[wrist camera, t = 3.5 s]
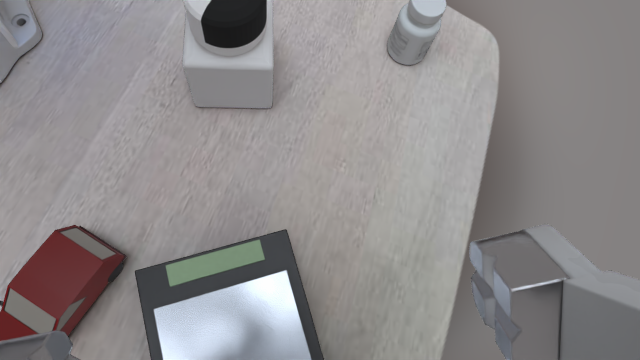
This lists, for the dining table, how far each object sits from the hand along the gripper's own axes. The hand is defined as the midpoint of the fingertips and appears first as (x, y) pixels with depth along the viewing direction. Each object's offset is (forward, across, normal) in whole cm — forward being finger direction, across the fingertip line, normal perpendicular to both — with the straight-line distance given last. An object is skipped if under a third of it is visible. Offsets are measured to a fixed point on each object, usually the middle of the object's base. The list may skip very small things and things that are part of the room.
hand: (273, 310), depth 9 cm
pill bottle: (+44, -14, +5) cm, 46 cm away
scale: (+23, +9, +21) cm, 33 cm away
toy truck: (+25, +22, +16) cm, 37 cm away
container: (+41, +5, +3) cm, 41 cm away
